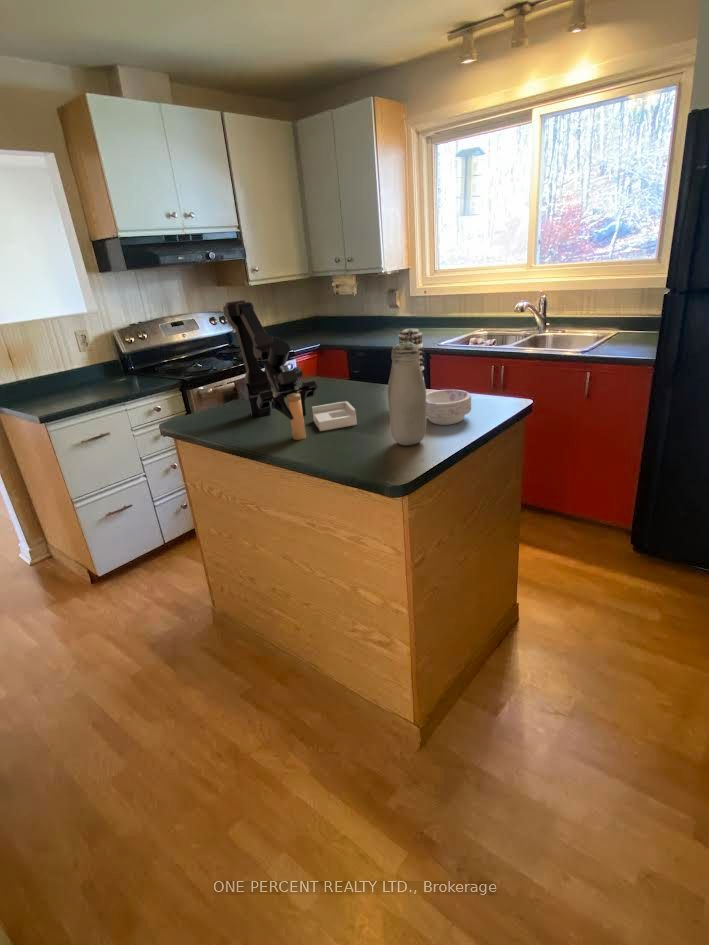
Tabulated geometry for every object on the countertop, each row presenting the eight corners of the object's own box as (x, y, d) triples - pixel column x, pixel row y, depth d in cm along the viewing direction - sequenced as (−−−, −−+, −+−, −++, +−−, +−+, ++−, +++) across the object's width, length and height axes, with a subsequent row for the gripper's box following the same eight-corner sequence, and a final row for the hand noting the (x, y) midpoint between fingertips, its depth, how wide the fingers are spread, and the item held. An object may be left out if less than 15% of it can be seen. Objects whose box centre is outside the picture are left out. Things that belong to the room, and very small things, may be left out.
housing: (320, 431, 162) (318, 415, 160) (313, 421, 172) (311, 406, 170) (357, 424, 164) (355, 409, 162) (348, 415, 174) (347, 400, 172)
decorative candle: (410, 408, 174) (406, 333, 164) (395, 402, 182) (390, 330, 172) (432, 402, 178) (429, 328, 168) (416, 397, 186) (413, 326, 176)
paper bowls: (411, 423, 160) (410, 398, 157) (440, 410, 170) (440, 386, 167) (452, 432, 150) (452, 405, 147) (480, 417, 160) (481, 392, 156)
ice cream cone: (294, 440, 156) (287, 397, 151) (292, 436, 160) (285, 394, 154) (307, 438, 157) (301, 395, 151) (304, 434, 160) (299, 392, 155)
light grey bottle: (402, 453, 139) (396, 348, 128) (385, 442, 148) (378, 343, 136) (434, 444, 142) (430, 342, 131) (415, 434, 151) (410, 337, 140)
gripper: (253, 365, 148) (274, 410, 143) (311, 353, 156) (332, 395, 152) (248, 387, 157) (268, 430, 153) (303, 375, 165) (323, 415, 161)
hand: (298, 417), depth 154 cm, fingers closed on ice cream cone, 4 cm apart
